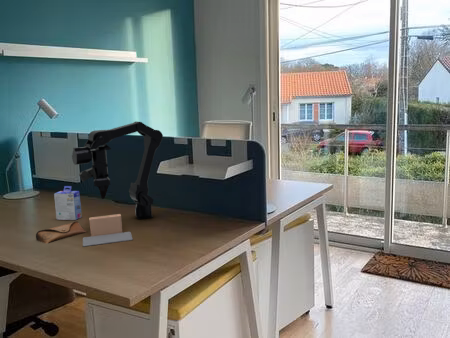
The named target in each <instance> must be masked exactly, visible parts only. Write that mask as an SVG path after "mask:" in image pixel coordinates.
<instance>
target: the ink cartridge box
mask: <svg viewBox="0 0 450 338" xmlns="http://www.w3.org/2000/svg"><path fill="white" fill-rule="evenodd" d="M63 187H64V188H63V190H60V191H57V192H55V193H54V194H53V195H54V197H53V198H54V204H55V205H54V206H55V219H56V220H58V221H59V220H60V221H61V220H63V221H66V220H67V221H76V220H78V219H81V218H82V217H83V215H82V204H81V196H80V190H72V189H73V188H72V185H64V186H63Z"/></svg>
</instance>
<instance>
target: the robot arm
mask: <svg viewBox="0 0 450 338" xmlns="http://www.w3.org/2000/svg"><path fill="white" fill-rule="evenodd" d="M135 133H138V134H139V135H141V136H142V137H143V145H144V150H143V154H142V158H141V163H140V165H139V170H138V173H137V177H136V180H135V181H134V182H130V187H129V189H128V192H129V197H130V198H131V200H132V201H133V202H134V203H135V206H134V211H135V217H136V218H137V219H138V220H143V219H150V218H153V217H154V215H153V214H152V213H153V212H152V205H153V203H154V198H153V197H151V196H150V195H149V183H148V181H149V178H150V174H151V169H152V167H153V161H154V157H155V154H156V151H157V149H158V148H159V147H160V146H161V143H162V141H163V138H164V135H163V133H162V131H160V130H159V129H154V128H153V127H150V126H148V125H146V124H145V123H144V122H142V121H133V122H131V123H128V124H125V125H124V124H123V125H120V126H116V127H113V128H110V129H109V128H108V129H99V130H98V129H97V130H92V131H90V132H89V134H88V137H87V138H88V139H87V141H86V142H85V143H84V145H83V146H82V147H81V146H80V147H73V148H72V154H71V159H72V162H73V164H74V166H78V165H84V164H90V162H92V164H91V167H90V168H88V169H85V170H83V171H80V172H79V173H78V175H79V178H80V180H81V181H82V182H85V181H86V180H89V179H91V178H93V187H96V188H98V190H99V194H100V196H101V197H100V198H101V199H102V200H104V199H105V198H106V196H107V195H106V194H107V192H108V189H109V186H110V185H111V178H109V170H108V167H109V166H108V158H107V151H109V150H111V149H112V148H111V147H110V146H109V145H108V144H107V143H110V142H111V141H112V140H114V139H118V138H120V137H123V136H128V135H130V134H135Z"/></svg>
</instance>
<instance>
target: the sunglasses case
mask: <svg viewBox="0 0 450 338" xmlns="http://www.w3.org/2000/svg"><path fill="white" fill-rule="evenodd" d="M85 233H88V231H86V230H85V228H83V227H82V226H81V224H80V223H79V221H76V220H75V221H73V222H71V223H66V224H62V225H58V226H55V227H51V228H45V229H40V230H38V231H37V232H36V234H35V239H36V241H38V242H42V243H43V244H46V245H47V243H48V244H50V243H53V242H57V241H60V240H63V239H66V238H70V237H74V236H79V235H81V234H85Z"/></svg>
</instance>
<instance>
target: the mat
mask: <svg viewBox="0 0 450 338" xmlns="http://www.w3.org/2000/svg"><path fill="white" fill-rule="evenodd" d="M130 241H133V235H132V233H131V231H125V232H123V231H122V233H115V234H107V235H99V236H91V235H90V236H86V237H82V247H92V246H100V245H107V244H113V243H120V242H130Z"/></svg>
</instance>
